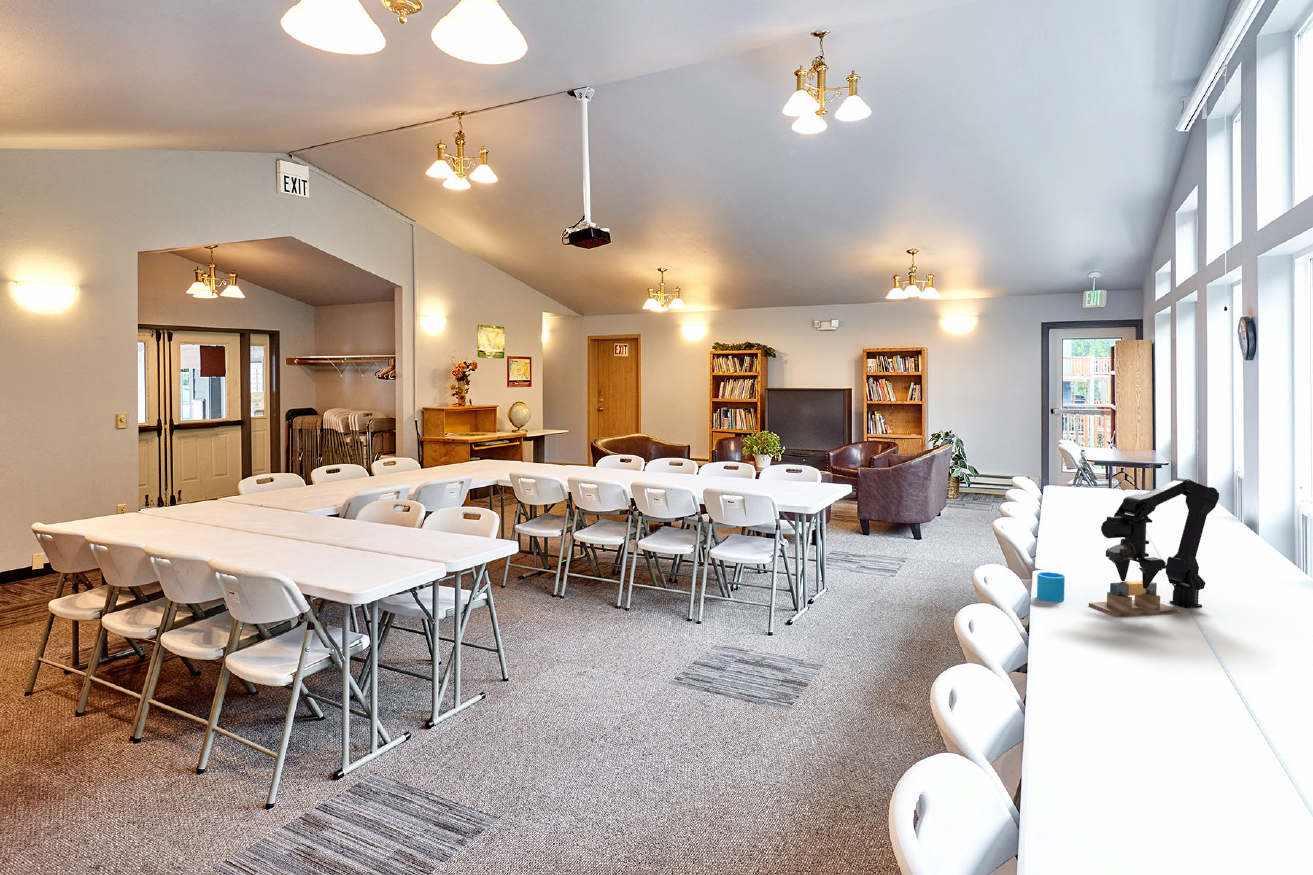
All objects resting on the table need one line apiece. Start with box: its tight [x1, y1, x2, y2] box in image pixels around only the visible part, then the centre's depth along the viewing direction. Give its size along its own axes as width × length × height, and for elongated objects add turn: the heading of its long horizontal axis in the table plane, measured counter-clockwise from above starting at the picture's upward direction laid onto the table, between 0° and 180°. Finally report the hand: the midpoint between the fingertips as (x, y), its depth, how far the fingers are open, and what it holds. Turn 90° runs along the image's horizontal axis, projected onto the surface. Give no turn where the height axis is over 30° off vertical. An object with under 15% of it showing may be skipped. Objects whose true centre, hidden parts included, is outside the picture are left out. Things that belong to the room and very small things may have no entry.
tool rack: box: [1088, 591, 1180, 618], centre depth 241 cm, size 22×12×6 cm, turn 98°
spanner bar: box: [1109, 580, 1158, 597], centre depth 241 cm, size 14×3×4 cm, turn 98°
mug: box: [1036, 571, 1066, 603], centre depth 255 cm, size 12×8×8 cm
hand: (1133, 584), depth 241 cm, fingers open, 9 cm apart
